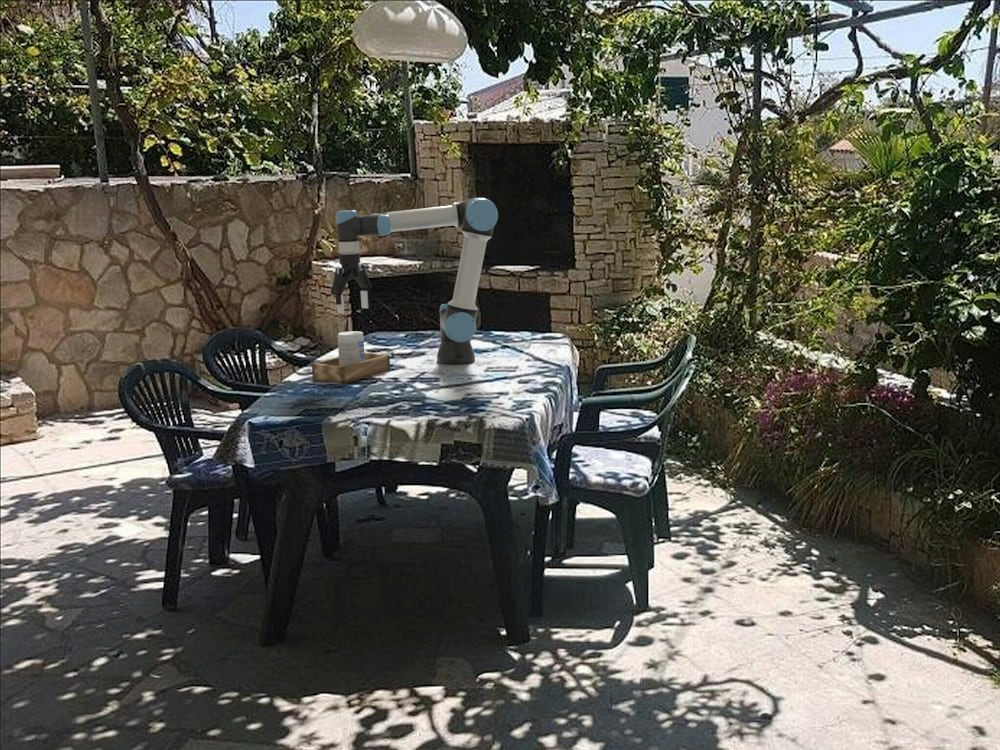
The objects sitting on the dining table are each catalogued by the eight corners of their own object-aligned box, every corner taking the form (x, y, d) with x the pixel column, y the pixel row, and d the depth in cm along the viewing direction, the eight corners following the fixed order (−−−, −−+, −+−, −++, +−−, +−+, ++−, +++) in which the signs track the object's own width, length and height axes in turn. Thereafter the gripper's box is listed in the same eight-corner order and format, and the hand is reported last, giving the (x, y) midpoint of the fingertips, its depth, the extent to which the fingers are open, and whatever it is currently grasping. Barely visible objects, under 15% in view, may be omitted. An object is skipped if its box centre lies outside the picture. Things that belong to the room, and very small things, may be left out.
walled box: (390, 370, 335) (389, 355, 334) (343, 383, 314) (342, 367, 313) (360, 366, 343) (359, 351, 342) (312, 379, 322) (311, 363, 321)
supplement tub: (366, 373, 325) (364, 334, 322) (340, 375, 323) (338, 335, 320) (364, 368, 334) (362, 330, 331) (338, 370, 332) (336, 331, 329)
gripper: (363, 250, 335) (366, 305, 340) (318, 256, 314) (322, 314, 319) (378, 250, 331) (382, 306, 336) (334, 256, 310) (338, 315, 315)
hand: (353, 310), depth 327 cm, fingers open, 13 cm apart
